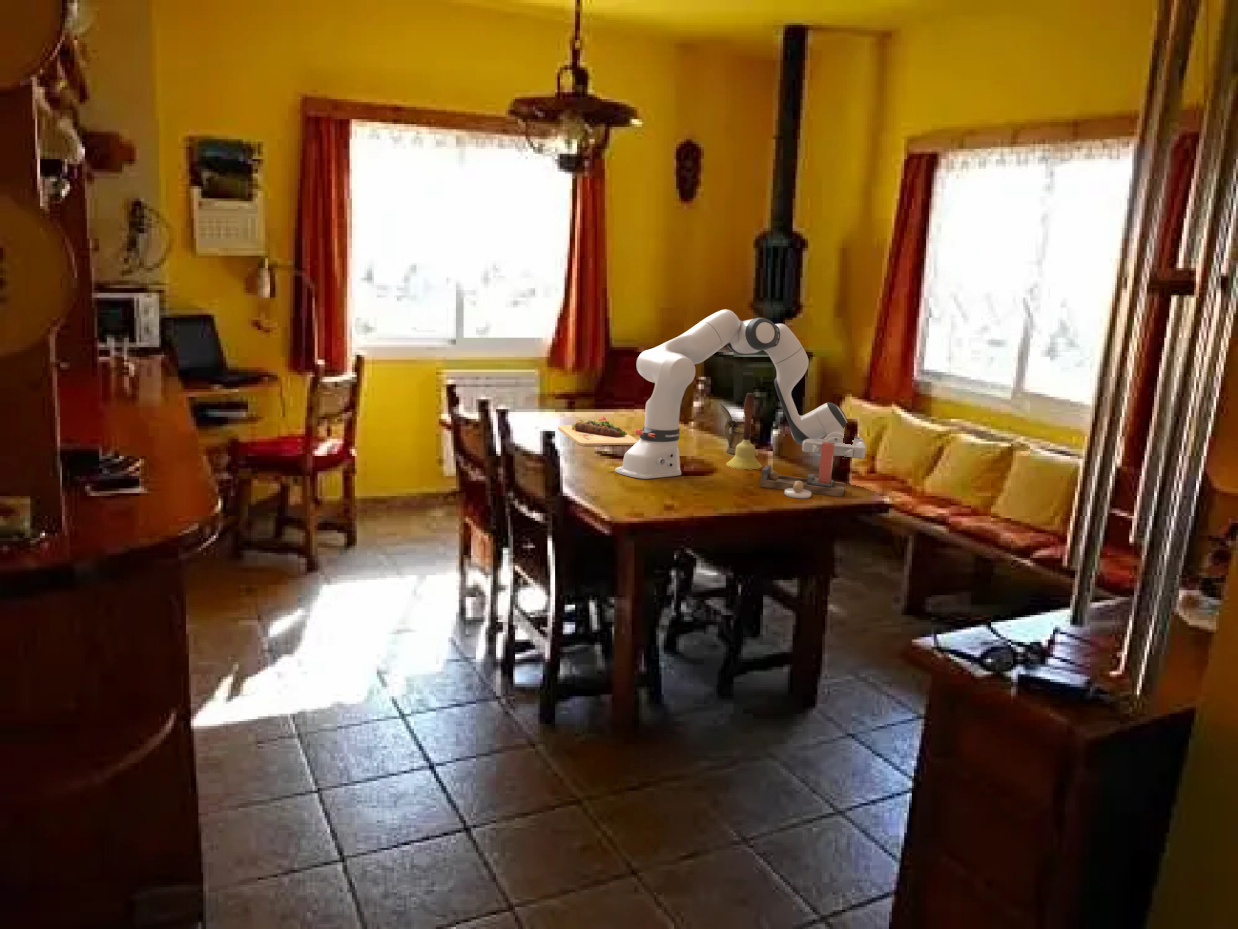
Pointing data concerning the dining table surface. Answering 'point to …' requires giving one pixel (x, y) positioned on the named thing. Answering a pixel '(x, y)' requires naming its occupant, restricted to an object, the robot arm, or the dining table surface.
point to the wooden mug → (736, 431)
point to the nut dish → (797, 495)
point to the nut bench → (785, 482)
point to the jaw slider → (824, 467)
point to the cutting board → (596, 433)
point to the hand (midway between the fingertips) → (831, 452)
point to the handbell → (746, 441)
